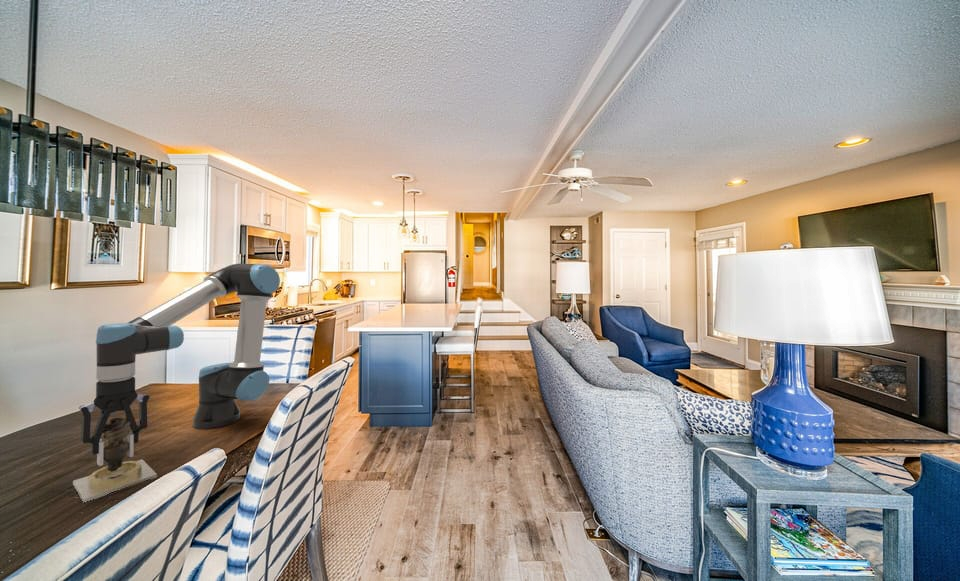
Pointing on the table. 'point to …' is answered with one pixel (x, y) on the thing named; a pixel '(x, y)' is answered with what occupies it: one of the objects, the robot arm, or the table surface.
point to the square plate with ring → (112, 479)
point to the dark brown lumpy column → (116, 442)
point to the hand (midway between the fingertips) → (115, 459)
